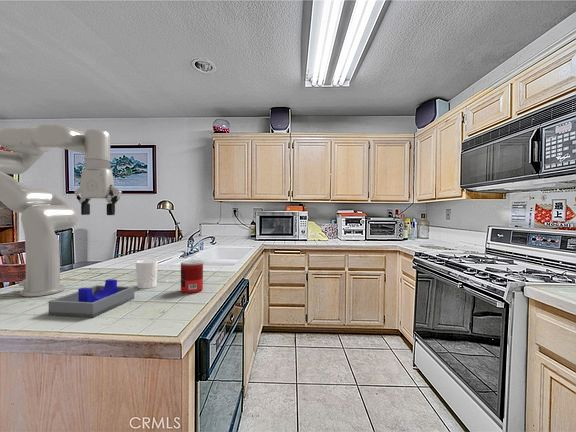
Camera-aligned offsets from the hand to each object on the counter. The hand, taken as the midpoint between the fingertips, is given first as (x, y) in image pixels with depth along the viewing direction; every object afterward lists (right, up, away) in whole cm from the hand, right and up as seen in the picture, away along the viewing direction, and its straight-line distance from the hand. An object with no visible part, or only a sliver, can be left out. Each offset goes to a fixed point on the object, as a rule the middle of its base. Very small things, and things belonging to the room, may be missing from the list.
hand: (98, 214), depth 104 cm
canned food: (+31, -29, +7) cm, 43 cm away
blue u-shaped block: (+7, -28, -11) cm, 31 cm away
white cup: (+11, -28, +12) cm, 33 cm away
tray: (+6, -29, -11) cm, 31 cm away
